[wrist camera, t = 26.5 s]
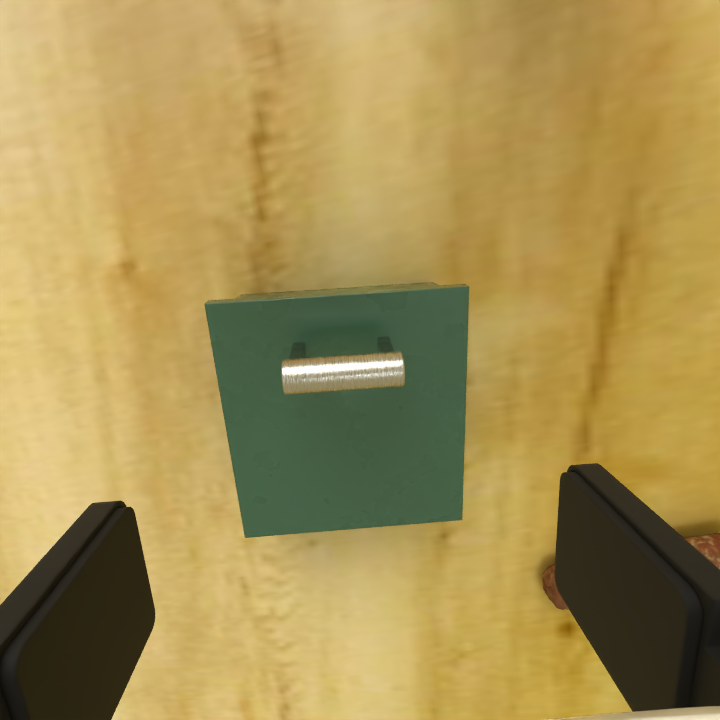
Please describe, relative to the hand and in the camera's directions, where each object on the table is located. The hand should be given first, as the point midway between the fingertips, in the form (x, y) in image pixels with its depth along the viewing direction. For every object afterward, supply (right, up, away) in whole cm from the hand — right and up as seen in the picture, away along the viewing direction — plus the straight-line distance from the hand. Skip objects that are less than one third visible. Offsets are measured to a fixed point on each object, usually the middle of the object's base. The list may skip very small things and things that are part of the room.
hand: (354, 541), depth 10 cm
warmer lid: (-1, 0, +20) cm, 20 cm away
